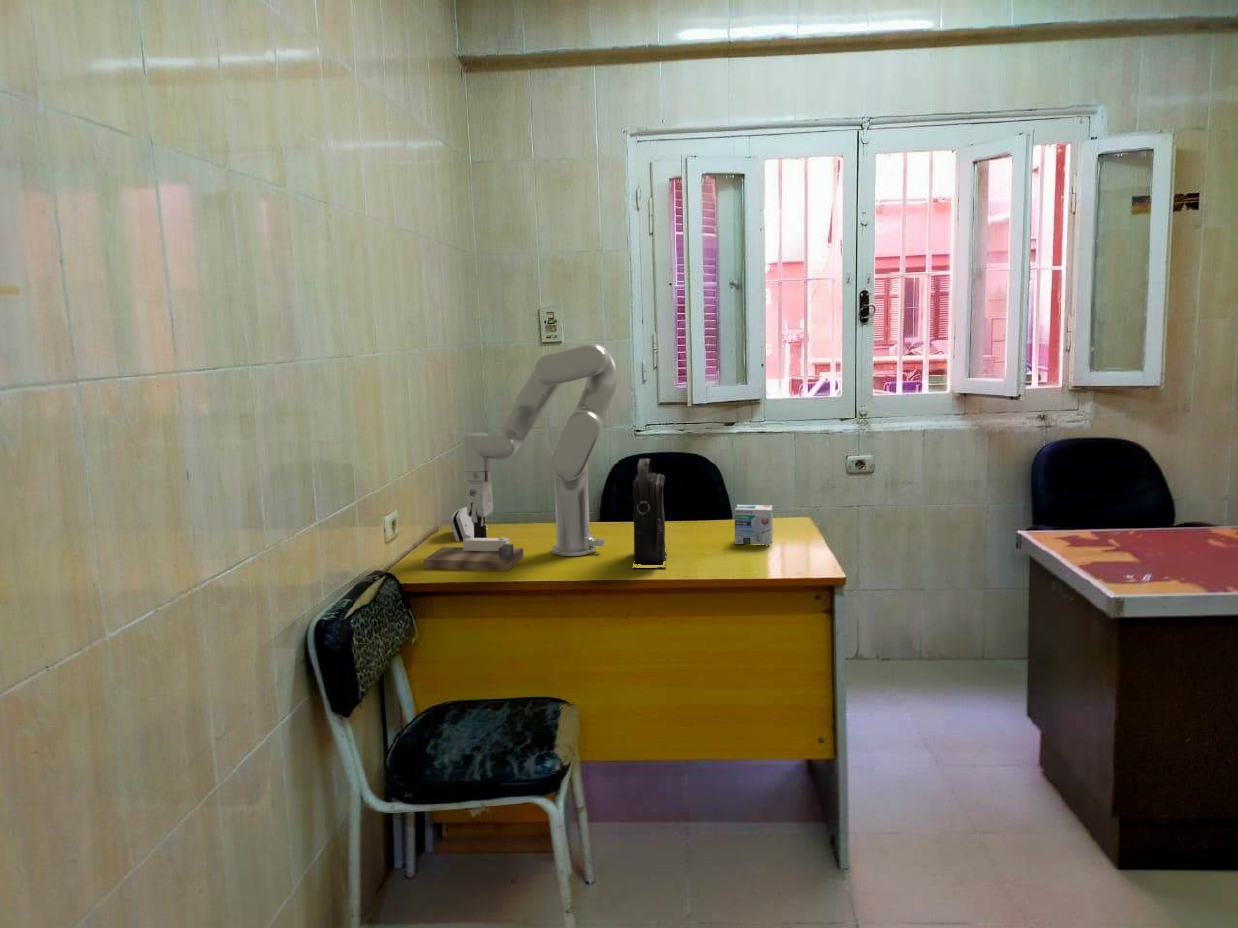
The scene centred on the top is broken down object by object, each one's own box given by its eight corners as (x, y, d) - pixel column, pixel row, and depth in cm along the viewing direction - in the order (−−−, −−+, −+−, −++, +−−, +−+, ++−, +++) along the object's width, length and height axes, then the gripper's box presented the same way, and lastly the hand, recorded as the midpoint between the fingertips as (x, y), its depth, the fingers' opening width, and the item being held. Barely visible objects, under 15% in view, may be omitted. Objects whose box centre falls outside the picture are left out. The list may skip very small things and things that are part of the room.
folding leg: (509, 548, 246) (508, 536, 246) (506, 551, 243) (505, 539, 243) (467, 547, 248) (466, 536, 248) (463, 550, 246) (462, 538, 245)
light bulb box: (734, 545, 254) (733, 508, 252) (736, 539, 260) (736, 504, 259) (771, 546, 251) (771, 509, 250) (773, 540, 258) (773, 504, 256)
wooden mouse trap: (523, 556, 248) (522, 537, 247) (508, 570, 234) (507, 550, 233) (442, 555, 252) (441, 536, 251) (424, 568, 238) (422, 549, 237)
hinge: (471, 541, 267) (459, 511, 266) (458, 546, 268) (445, 516, 267) (488, 529, 283) (477, 500, 283) (475, 533, 284) (464, 505, 284)
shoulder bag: (635, 548, 254) (632, 452, 249) (666, 547, 253) (664, 452, 249) (631, 569, 231) (628, 465, 227) (665, 569, 231) (663, 464, 226)
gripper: (482, 481, 241) (484, 545, 244) (498, 472, 256) (500, 533, 259) (456, 480, 243) (458, 544, 245) (474, 471, 257) (476, 532, 260)
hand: (480, 538), depth 252 cm, fingers closed
